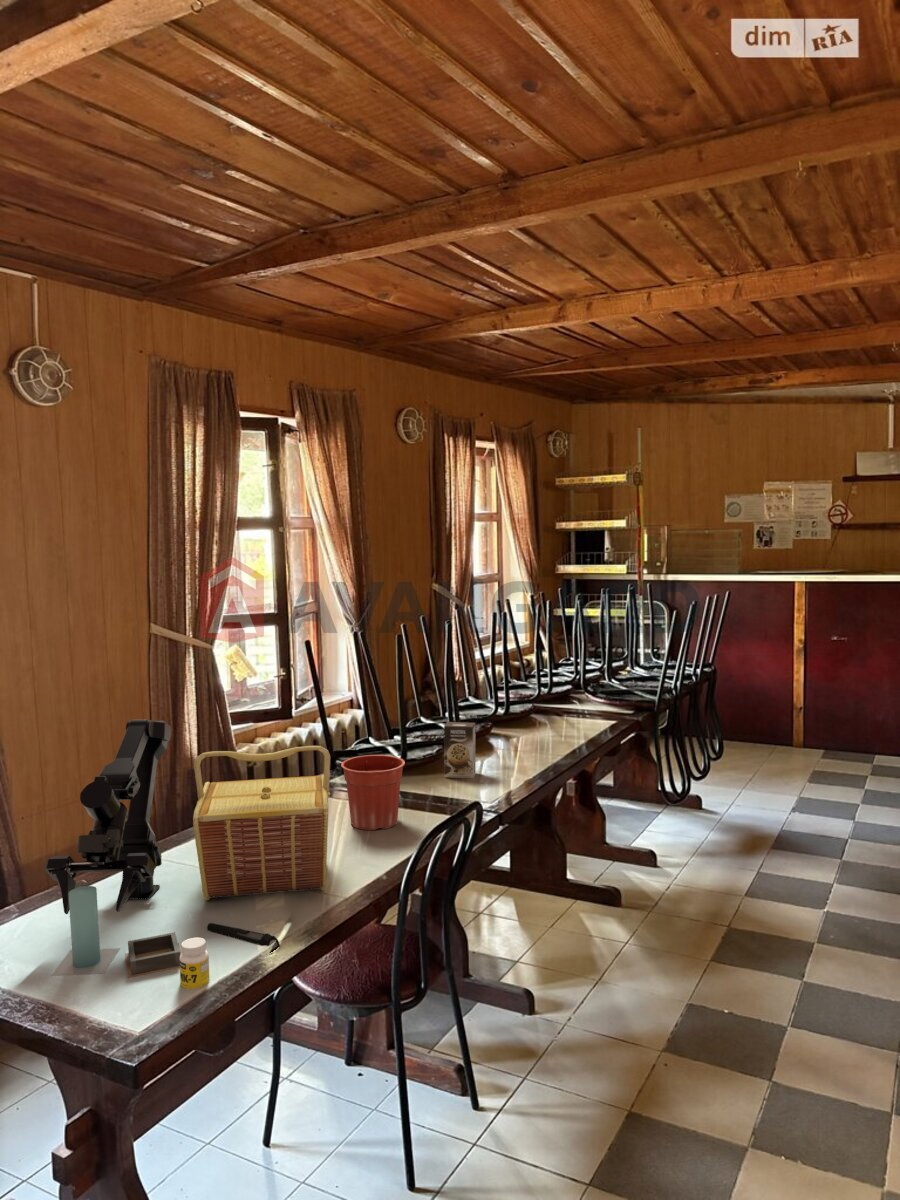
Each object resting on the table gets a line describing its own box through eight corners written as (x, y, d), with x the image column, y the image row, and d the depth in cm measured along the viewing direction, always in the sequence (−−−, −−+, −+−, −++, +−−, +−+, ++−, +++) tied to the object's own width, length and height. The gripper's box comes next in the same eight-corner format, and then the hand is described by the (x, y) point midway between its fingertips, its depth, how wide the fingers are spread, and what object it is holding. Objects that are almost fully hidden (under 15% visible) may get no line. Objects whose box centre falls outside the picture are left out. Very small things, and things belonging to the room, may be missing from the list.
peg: (87, 953, 161) (83, 884, 160) (106, 957, 159) (102, 888, 158) (66, 964, 157) (62, 894, 156) (86, 970, 155) (82, 898, 154)
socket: (125, 961, 161) (124, 940, 161) (179, 950, 165) (178, 930, 164) (128, 986, 152) (127, 964, 152) (185, 974, 156) (183, 952, 156)
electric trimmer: (216, 933, 172) (215, 918, 172) (281, 948, 166) (280, 931, 165) (203, 942, 169) (202, 926, 169) (269, 957, 162) (268, 940, 162)
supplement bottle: (174, 994, 150) (172, 946, 149) (192, 980, 154) (190, 934, 153) (198, 999, 148) (196, 951, 147) (215, 985, 152) (213, 938, 151)
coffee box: (444, 777, 271) (442, 726, 270) (447, 771, 277) (446, 721, 276) (473, 778, 269) (472, 726, 268) (476, 772, 276) (475, 721, 274)
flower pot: (397, 809, 242) (395, 751, 241) (413, 829, 227) (412, 767, 225) (337, 816, 237) (335, 758, 236) (350, 837, 222) (348, 774, 220)
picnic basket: (191, 913, 181) (184, 769, 178) (206, 864, 206) (200, 738, 203) (336, 900, 185) (331, 760, 182) (332, 854, 211) (328, 731, 208)
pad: (70, 958, 163) (70, 950, 163) (120, 956, 163) (120, 948, 163) (51, 983, 154) (51, 975, 154) (104, 981, 154) (103, 973, 154)
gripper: (44, 815, 164) (23, 898, 155) (146, 811, 165) (132, 894, 156) (63, 839, 173) (45, 920, 163) (160, 836, 174) (147, 916, 164)
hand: (91, 912), depth 161 cm, fingers open, 9 cm apart
